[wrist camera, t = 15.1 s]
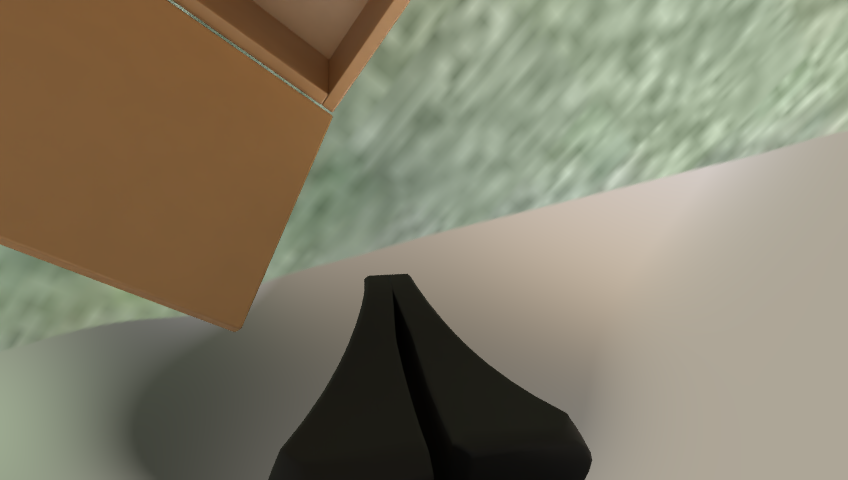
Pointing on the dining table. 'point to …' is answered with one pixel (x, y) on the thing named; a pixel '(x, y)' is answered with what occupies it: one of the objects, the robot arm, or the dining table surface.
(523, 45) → the dining table surface
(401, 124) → the dining table surface
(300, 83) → the carton
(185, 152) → the flap
